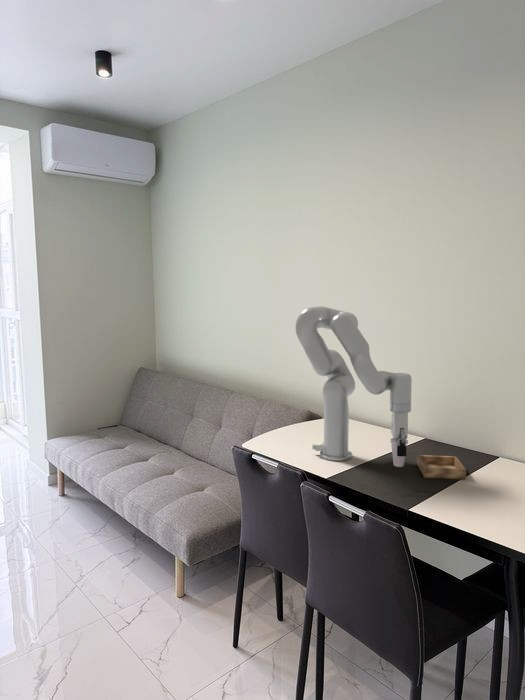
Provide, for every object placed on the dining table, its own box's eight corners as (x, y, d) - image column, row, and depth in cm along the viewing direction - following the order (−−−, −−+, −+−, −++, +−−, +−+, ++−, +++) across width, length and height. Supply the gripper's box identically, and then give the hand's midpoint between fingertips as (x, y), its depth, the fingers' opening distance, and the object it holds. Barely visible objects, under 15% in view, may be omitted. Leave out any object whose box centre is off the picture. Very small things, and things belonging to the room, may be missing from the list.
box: (423, 477, 176) (424, 468, 175) (416, 464, 190) (417, 455, 189) (465, 479, 174) (466, 469, 174) (455, 465, 188) (456, 456, 187)
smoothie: (408, 468, 185) (409, 431, 183) (390, 467, 186) (391, 430, 184) (406, 462, 191) (407, 426, 189) (389, 461, 192) (390, 426, 191)
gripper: (387, 401, 195) (386, 444, 197) (393, 412, 178) (392, 459, 180) (407, 401, 194) (406, 445, 196) (414, 412, 177) (414, 459, 179)
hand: (399, 451), depth 188 cm, fingers open, 9 cm apart
